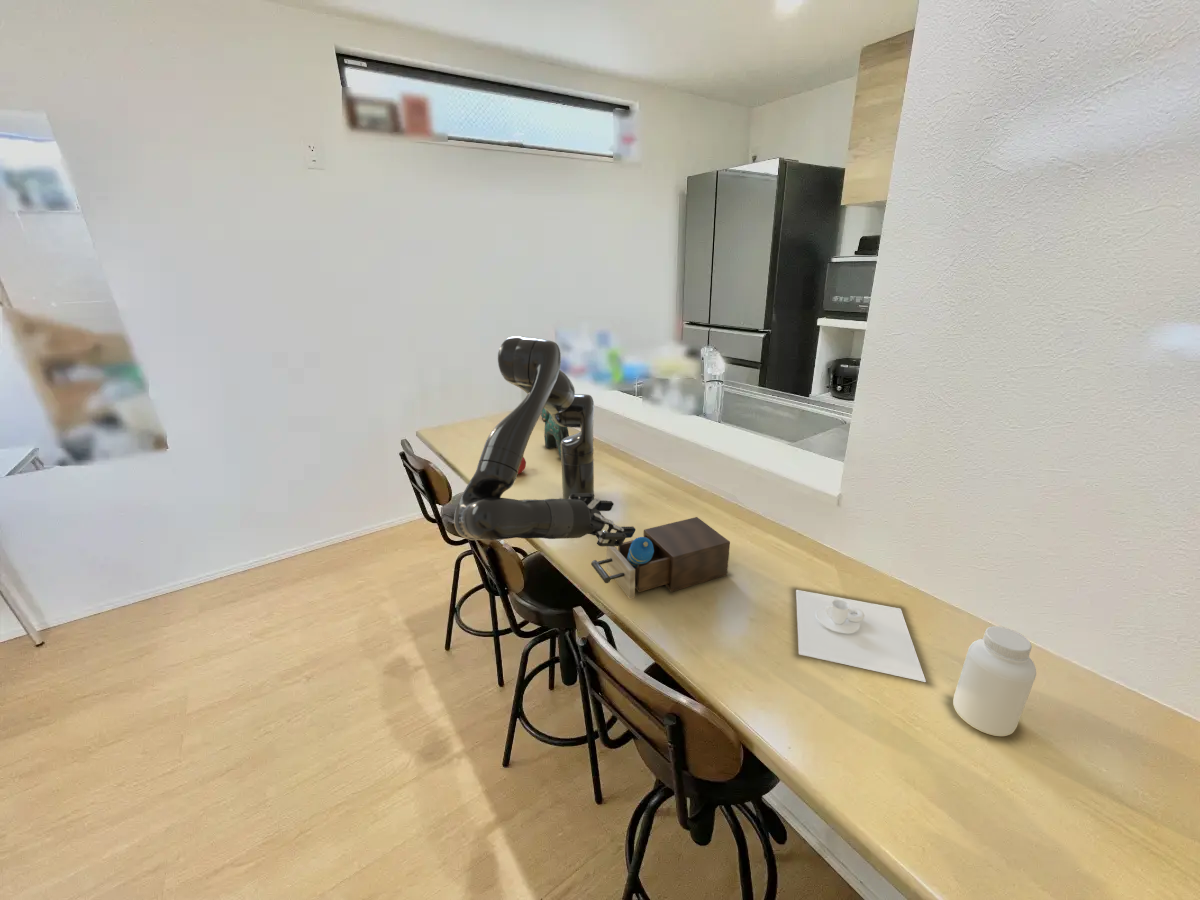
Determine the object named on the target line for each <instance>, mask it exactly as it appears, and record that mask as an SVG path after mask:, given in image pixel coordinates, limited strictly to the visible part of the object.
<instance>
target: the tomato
mask: <svg viewBox="0 0 1200 900" xmlns="http://www.w3.org/2000/svg"><path fill="white" fill-rule="evenodd" d="M526 465H527V461H526V458H525V457H524V456H523V458H522V461H521V464H520V467H519V471H518V474H517V475H520V474H521V473H523V471H524V470H525V469H526Z"/></svg>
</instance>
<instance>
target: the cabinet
mask: <svg viewBox="0 0 1200 900" xmlns="http://www.w3.org/2000/svg"><path fill="white" fill-rule="evenodd" d="M643 537H649V538H650V539H651V540H652V541H653V542H654V543H655V544H656V545H657V546H658V547H659V548H660V549H661V550H662V551H663V552H664V553H666V554H667V555H668V556H669V557H670V558H671V567H670V583H668V584H665V585H664V586H665V587H666V588H667V589H668V590H669V591H670V593H673V592H677V591H679V590H682V589H686V588H689V587H693V586H695V585H699V584H702V583H705V582H709V581H712V580H716V579H719V578H722V577H726V576H728V567H729V559H730V557H729V556H730V548H731V547H730V546H731V541H730V540H728V539H727V538H726V537H725V536H724V535H722V534H720V533H719V532H718V531H717V530H715V529H713V528H712V527H711V526H710V525H708V524H707V523H706V522H705V521H704V520H703V519H701V518H699V517H698V516H695V517H691V518H685V519H682V520H679V521H674V522H670V523H665V524H661V525H658V526H653V527H649V528H645V529H643Z"/></svg>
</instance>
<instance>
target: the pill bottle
mask: <svg viewBox="0 0 1200 900" xmlns="http://www.w3.org/2000/svg"><path fill="white" fill-rule="evenodd" d="M1032 649H1033V646H1032V643H1031V642H1030V640H1029V639H1028V638H1027V637H1026V636H1024V635H1023V634H1021V633H1020V632H1018V631H1016V630H1013V629H1011V628H1009V627H1005V626H998V625H992V626H988V627H987V628H986V629H985V630H984V634H983V638H978V639H976V640H974V641H973V642H972V643H971V644H970V645H969V647H968V650H967V651H966V656H965V659H964V662H963V665H962V669H961V672H960V674H959V678H958V681H957V685H956V688H955V690H954V691H955V692H954V695H953V700H952V704H953V708H954V710H955V712H956V714H957V715H958V716H959V717H960V718H961V720H963V721H964V722H965V723H966V724H968V725H969V726H970V727H972V728H973V729H976V730H977V731H980V732H982V733H984V734H987V735H990V736H994V737H1007V736H1010V735H1012V734H1013V733H1014V732H1015V731H1016V729H1017V727H1018V725H1019V722H1020V719H1021V717H1022V714H1023V711H1024V709H1025V706H1026V704H1027V700H1028V699H1029V696H1030V693H1031V690H1032V688H1033V685H1034V682H1035V680H1036V678H1037V677H1036V676H1037V668H1036V665H1035V663H1034V661H1033V659H1032V658H1031V657H1030V655H1031V654H1030V653H1031V651H1032Z"/></svg>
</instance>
